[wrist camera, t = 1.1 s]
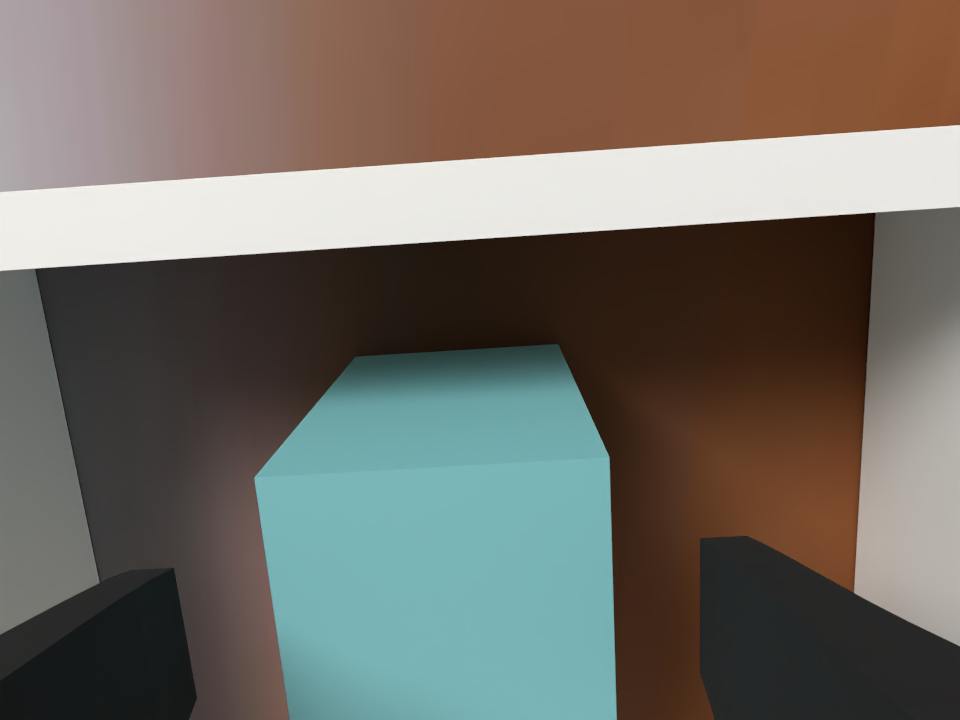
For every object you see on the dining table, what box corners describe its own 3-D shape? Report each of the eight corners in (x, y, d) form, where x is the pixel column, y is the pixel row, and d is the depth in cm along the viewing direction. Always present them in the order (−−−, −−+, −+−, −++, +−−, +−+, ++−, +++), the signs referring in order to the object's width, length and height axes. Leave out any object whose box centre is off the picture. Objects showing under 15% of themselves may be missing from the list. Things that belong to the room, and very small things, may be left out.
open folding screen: (928, 142, 15) (1221, 107, 9) (892, 657, 17) (1096, 891, 11) (-25, 208, 15) (-346, 216, 9) (83, 696, 18) (-115, 939, 12)
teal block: (557, 343, 16) (609, 457, 9) (566, 531, 17) (617, 761, 10) (356, 356, 16) (254, 477, 9) (375, 541, 17) (297, 776, 10)
